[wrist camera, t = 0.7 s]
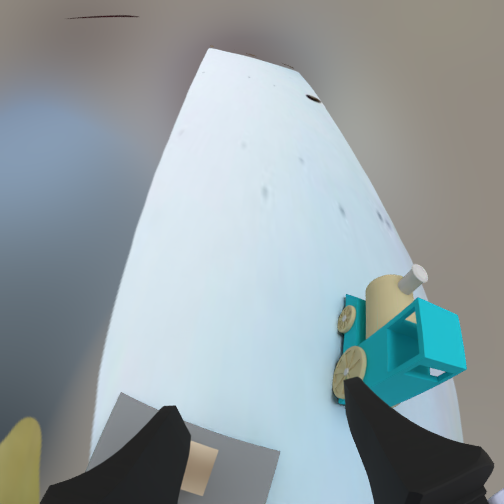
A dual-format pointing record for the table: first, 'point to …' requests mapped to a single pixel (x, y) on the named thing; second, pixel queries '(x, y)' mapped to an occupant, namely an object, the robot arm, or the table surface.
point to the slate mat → (230, 450)
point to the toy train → (397, 340)
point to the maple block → (198, 468)
